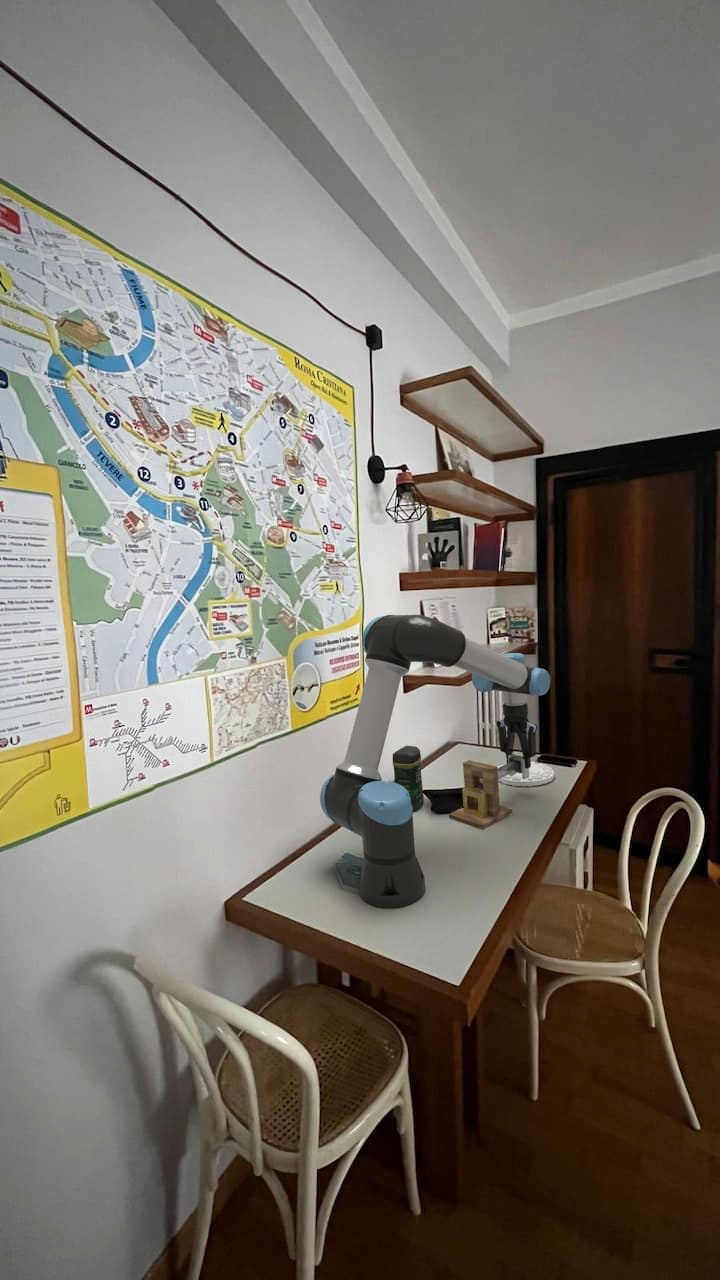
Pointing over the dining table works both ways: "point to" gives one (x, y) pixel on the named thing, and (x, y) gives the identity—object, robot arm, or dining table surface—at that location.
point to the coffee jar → (409, 773)
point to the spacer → (482, 802)
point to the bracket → (489, 786)
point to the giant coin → (530, 776)
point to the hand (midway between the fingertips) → (519, 776)
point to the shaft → (506, 768)
